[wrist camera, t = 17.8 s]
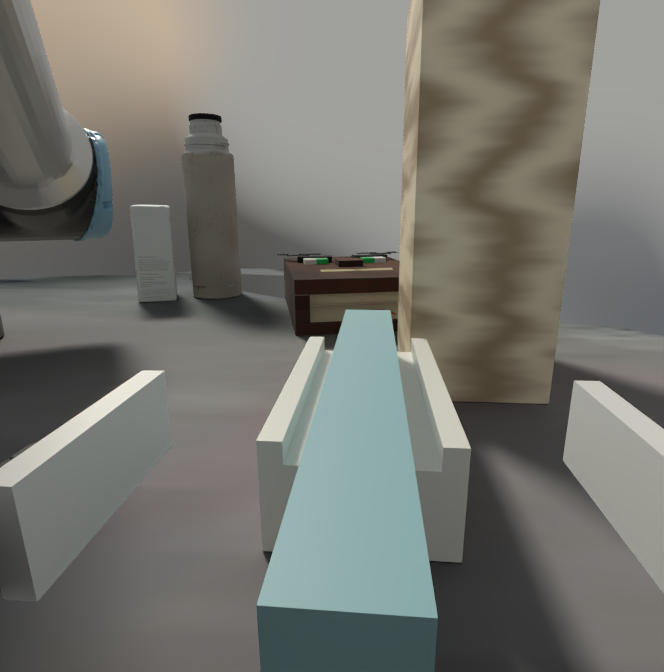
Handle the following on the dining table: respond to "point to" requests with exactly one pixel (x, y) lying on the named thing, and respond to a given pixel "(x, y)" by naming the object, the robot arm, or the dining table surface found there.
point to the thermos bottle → (211, 209)
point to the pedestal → (491, 186)
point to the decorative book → (338, 289)
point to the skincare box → (153, 253)
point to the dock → (425, 434)
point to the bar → (353, 527)
